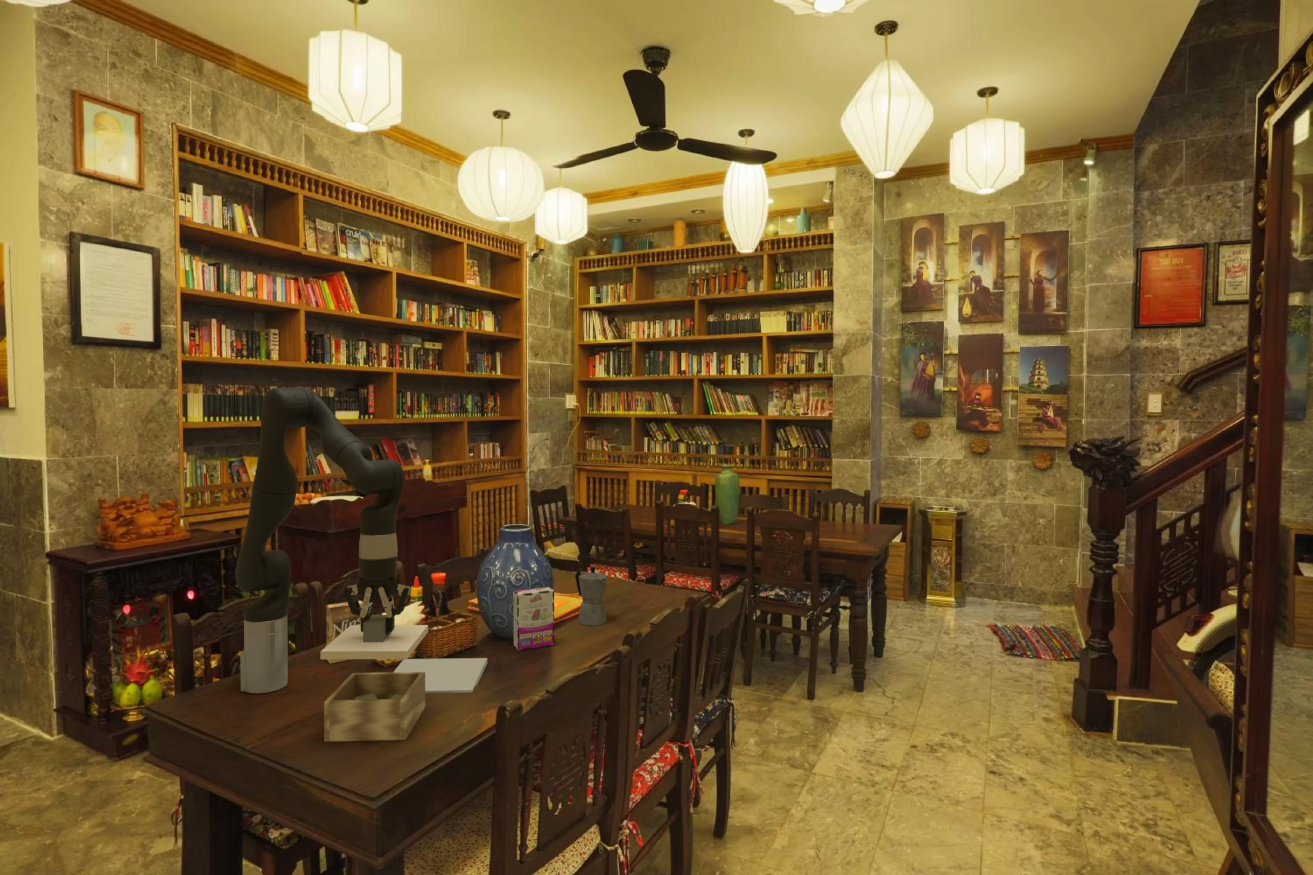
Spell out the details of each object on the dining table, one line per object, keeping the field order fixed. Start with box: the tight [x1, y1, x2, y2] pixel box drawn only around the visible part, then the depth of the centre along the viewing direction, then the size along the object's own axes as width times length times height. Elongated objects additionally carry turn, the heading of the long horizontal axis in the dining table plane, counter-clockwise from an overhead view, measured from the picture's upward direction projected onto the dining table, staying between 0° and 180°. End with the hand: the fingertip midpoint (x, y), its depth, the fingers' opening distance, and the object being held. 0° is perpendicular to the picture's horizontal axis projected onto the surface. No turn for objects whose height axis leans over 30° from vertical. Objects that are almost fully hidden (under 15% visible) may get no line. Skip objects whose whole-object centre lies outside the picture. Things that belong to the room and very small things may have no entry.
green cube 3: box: [355, 693, 377, 700], centre depth 154 cm, size 4×4×4 cm
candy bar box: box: [512, 586, 555, 652], centre depth 204 cm, size 11×5×16 cm, turn 118°
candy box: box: [325, 599, 363, 665], centre depth 192 cm, size 9×4×15 cm, turn 126°
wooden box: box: [323, 671, 426, 743], centre depth 151 cm, size 16×16×9 cm
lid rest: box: [393, 657, 488, 694], centre depth 178 cm, size 22×22×2 cm
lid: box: [320, 614, 429, 660], centre depth 150 cm, size 17×17×6 cm
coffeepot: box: [574, 566, 608, 627], centre depth 229 cm, size 15×9×18 cm, turn 44°
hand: (377, 633), depth 150 cm, fingers closed on lid, 4 cm apart
